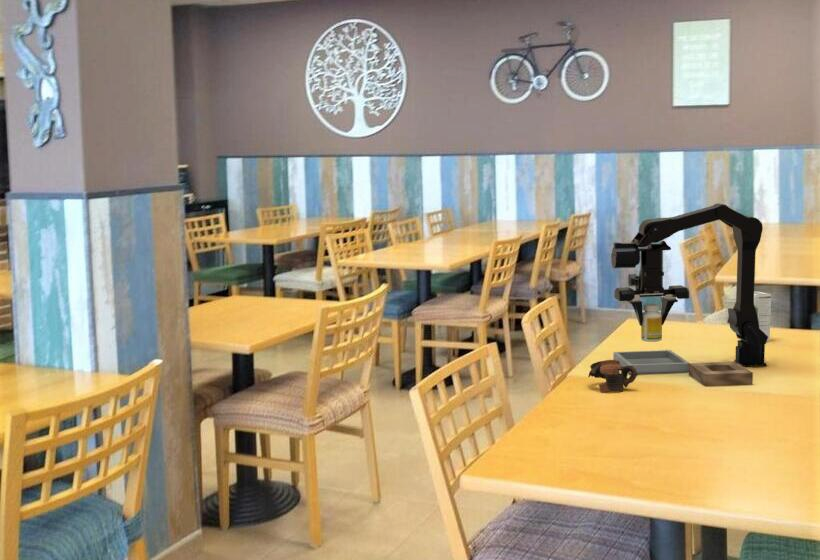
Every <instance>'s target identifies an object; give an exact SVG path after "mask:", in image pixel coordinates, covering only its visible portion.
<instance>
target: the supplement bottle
mask: <svg viewBox="0 0 820 560" xmlns="http://www.w3.org/2000/svg"><path fill="white" fill-rule="evenodd" d="M642 316H643V322H642V326H640V327H641V330H640V331H641V332H640V333H641V334H640V338H641V340H642V341H643V342H646V343H647V342H649V343H651V342H652V343H654V342H655V343H656V342H661V341H662V340H663V335H662V334H663V325H662V314H661V311H660V304H659V303H645V304H644V305H643V311H642Z"/></svg>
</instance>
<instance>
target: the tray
mask: <svg viewBox="0 0 820 560" xmlns="http://www.w3.org/2000/svg"><path fill="white" fill-rule="evenodd" d="M612 353H613V356H612V357H613V359H612V360H617V361H619V362H620V366H623V367H624V366H633V367H634V368H635V369H636V372H637V373H638V374H637V375H659V374H660V375H661V374H662V375H663V374H689V363H690V362H689V361H687V360H686V359H684V358H683V357H681V356H680V355H679V354H677V353H675V352H674V351H673V350H671V349H665V350H664V349H662V350H640V351H639V350H637V351H635V350H633V351H632V350H631V351H613V352H612ZM627 375H629V376H631V371H629V372H628V374H627Z"/></svg>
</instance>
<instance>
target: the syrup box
mask: <svg viewBox="0 0 820 560" xmlns="http://www.w3.org/2000/svg"><path fill="white" fill-rule="evenodd" d="M754 306H755V309H756V312H757V315H758V321H759V329H760V330H762V331H763V332H764V333H765V334H766V335H767V336H768V339H767V342H766V343H769V342H770V340H771V339H770V336H771V311H772V294H771V293H767V292H761V291H755V290H754Z"/></svg>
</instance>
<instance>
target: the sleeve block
mask: <svg viewBox="0 0 820 560" xmlns="http://www.w3.org/2000/svg"><path fill="white" fill-rule="evenodd" d="M688 376H690V377H691V378H693V379H694V380H696V382H698V383H700V384H701V385H702V386H704V387H721V386H743V385H744V386H749V385H754V384H753V379H754V372H752V371H751V370H749V368H746V367H745V366H742V365H740V364H739V363H737V362H735V361H718V362H717V361H715V362H714V361H711V362H689V373H688Z"/></svg>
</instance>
